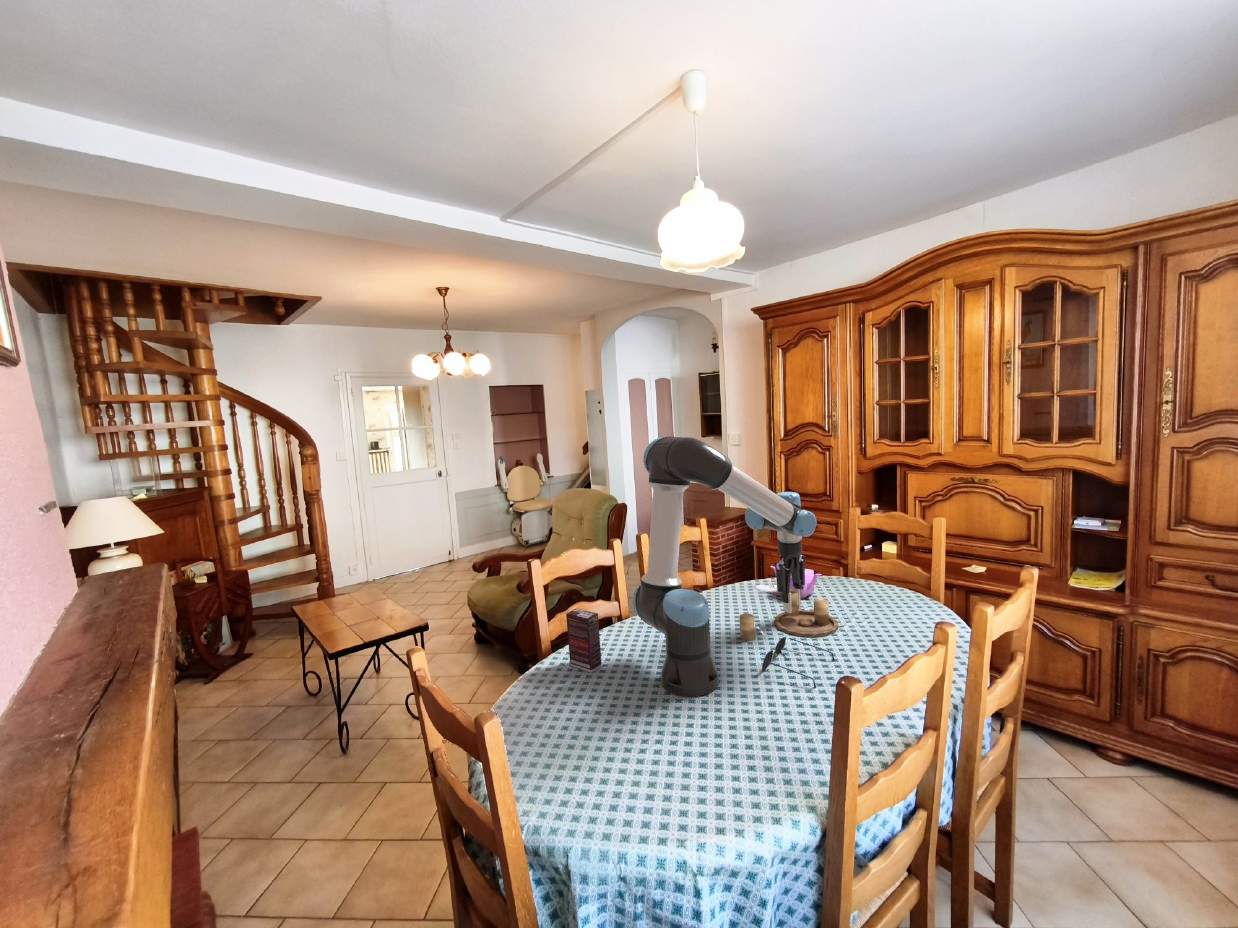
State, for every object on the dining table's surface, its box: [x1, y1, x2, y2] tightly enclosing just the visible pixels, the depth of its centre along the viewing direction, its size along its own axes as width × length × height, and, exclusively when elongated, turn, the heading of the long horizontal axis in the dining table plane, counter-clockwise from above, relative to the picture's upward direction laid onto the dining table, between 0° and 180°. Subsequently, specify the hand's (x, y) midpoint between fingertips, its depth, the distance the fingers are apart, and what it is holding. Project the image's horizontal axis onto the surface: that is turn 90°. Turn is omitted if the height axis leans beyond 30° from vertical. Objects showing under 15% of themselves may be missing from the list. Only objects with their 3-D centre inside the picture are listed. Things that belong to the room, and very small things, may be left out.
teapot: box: [770, 565, 823, 601], centre depth 197 cm, size 15×13×11 cm
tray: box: [774, 609, 839, 638], centre depth 170 cm, size 19×19×2 cm
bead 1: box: [739, 613, 756, 642], centre depth 164 cm, size 4×4×7 cm
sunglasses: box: [761, 636, 836, 689], centre depth 144 cm, size 17×15×5 cm
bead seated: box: [813, 598, 830, 625], centre depth 170 cm, size 4×4×7 cm
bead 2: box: [784, 591, 800, 616], centre depth 174 cm, size 4×4×7 cm
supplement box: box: [565, 608, 603, 674], centre depth 152 cm, size 9×5×16 cm, turn 52°
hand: (792, 609), depth 174 cm, fingers closed on bead 2, 4 cm apart
